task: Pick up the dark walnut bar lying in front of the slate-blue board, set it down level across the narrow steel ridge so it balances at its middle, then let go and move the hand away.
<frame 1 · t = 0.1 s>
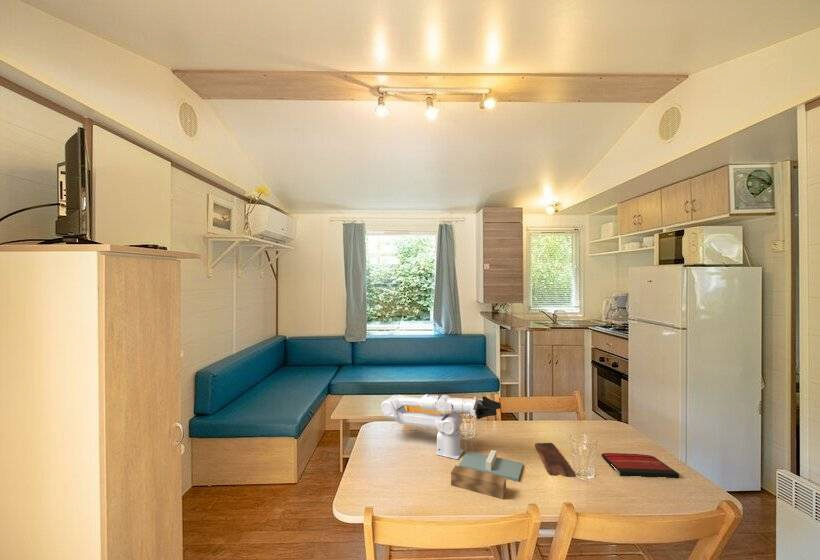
hand: (498, 408, 138), 22 cm above the table, tool horizontal, fingers open, 7 cm apart
binder: (636, 467, 137), on the table
walnut bar: (478, 489, 123), on the table
wooden tablet: (552, 460, 143), on the table
ridge stand: (491, 466, 137), on the table
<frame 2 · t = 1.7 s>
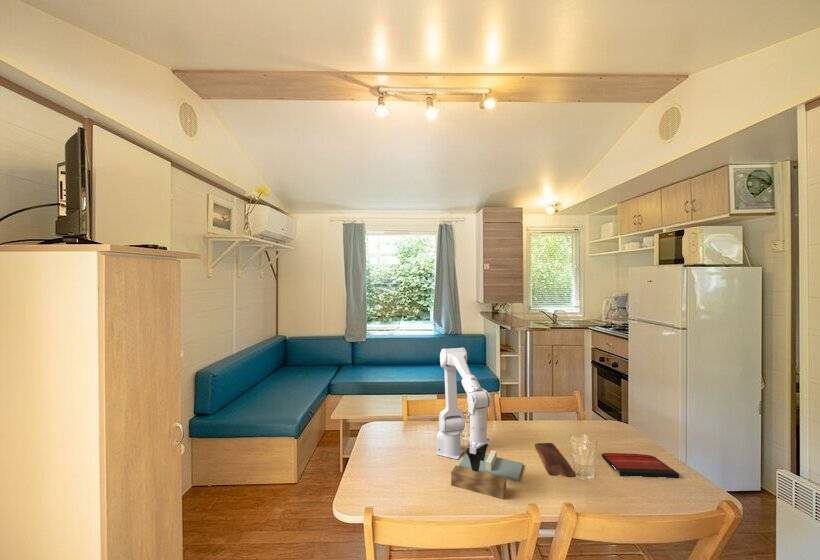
hand: (478, 465, 123), 8 cm above the table, tool pointing down, fingers open, 7 cm apart
nothing on the table moved.
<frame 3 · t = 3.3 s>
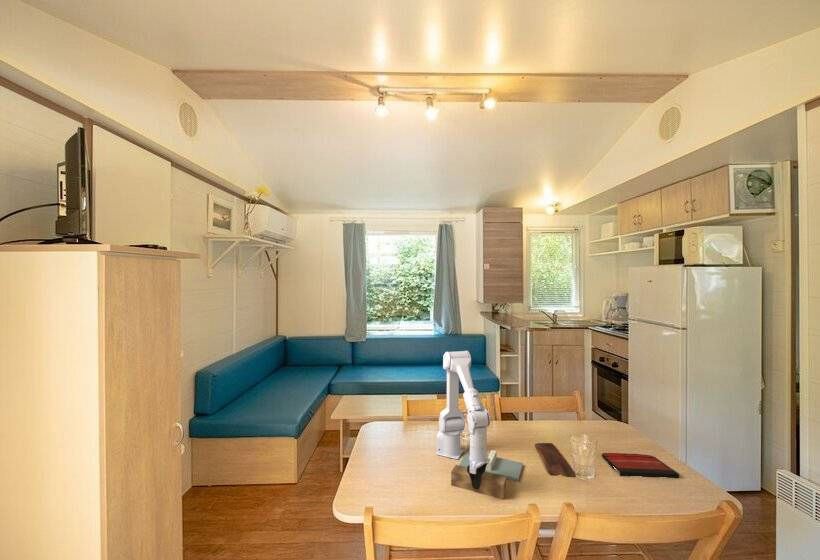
hand: (478, 484, 123), 1 cm above the table, tool pointing down, fingers closed on walnut bar, 5 cm apart
walnut bar: (478, 488, 123), on the table, touching gripper
everything else where it was.
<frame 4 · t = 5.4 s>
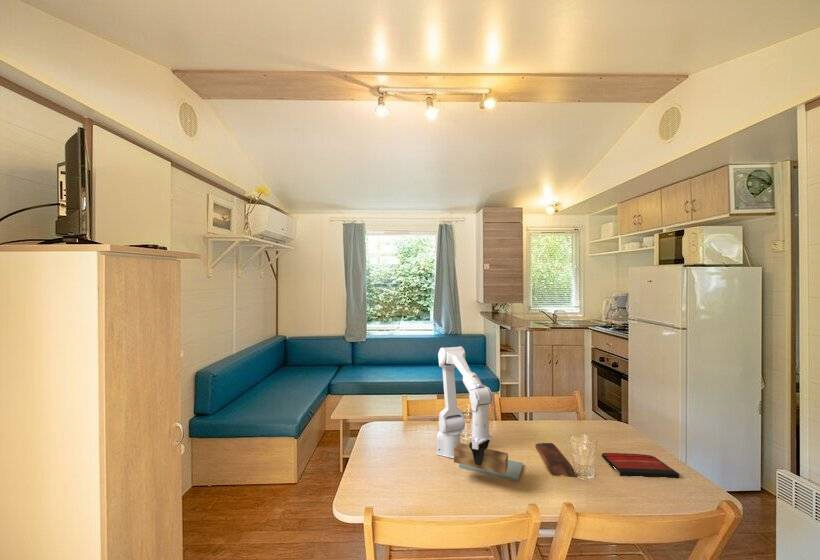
hand: (480, 460, 125), 8 cm above the table, tool pointing down, fingers closed on walnut bar, 5 cm apart
walnut bar: (480, 464, 125), point 7 cm above the table, touching gripper
everything else where it was.
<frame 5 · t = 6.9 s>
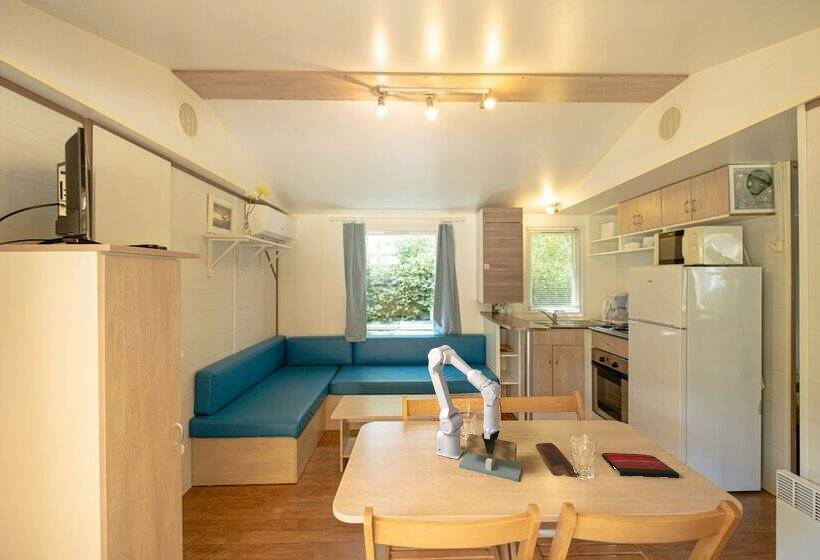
hand: (491, 449, 137), 6 cm above the table, tool pointing down, fingers closed on walnut bar, 5 cm apart
walnut bar: (491, 453, 137), point 5 cm above the table, touching gripper
everything else where it was.
when the fingers open (6 cm above the table, at t = 8.0 s): walnut bar stays where it is, resting on ridge stand.
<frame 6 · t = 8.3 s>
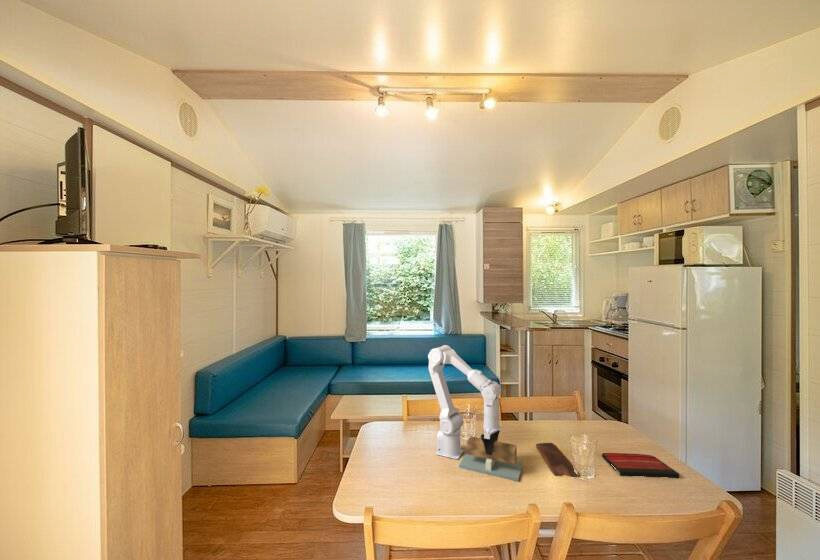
hand: (491, 449, 137), 6 cm above the table, tool pointing down, fingers open, 7 cm apart
walnut bar: (491, 456, 137), point 4 cm above the table, touching ridge stand
everything else where it was.
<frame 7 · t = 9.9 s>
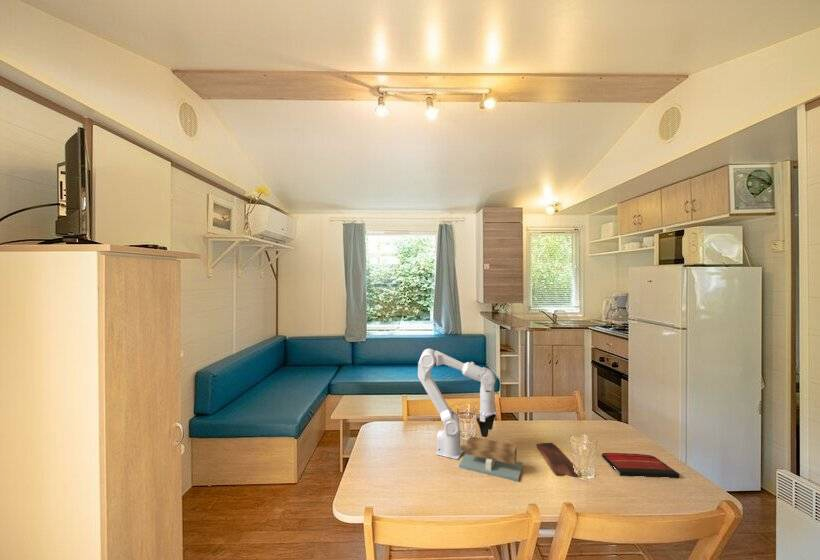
hand: (486, 432, 145), 9 cm above the table, tool pointing down, fingers open, 7 cm apart
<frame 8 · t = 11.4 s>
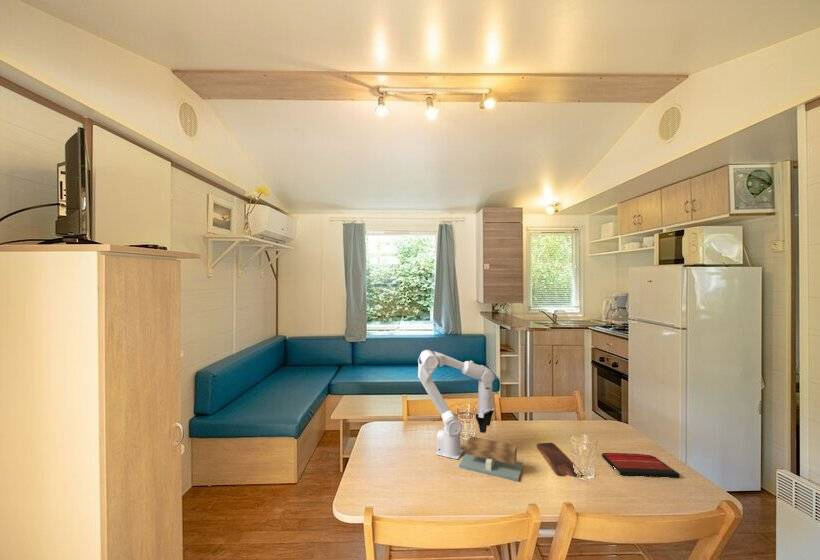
hand: (485, 428, 149), 9 cm above the table, tool pointing down, fingers open, 7 cm apart
at the end: walnut bar inside the target area on the ridge stand (0.1 cm from its centre), point 4.0 cm above the ridge stand's base; walnut bar tilted 0°; the gripper is holding nothing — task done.
